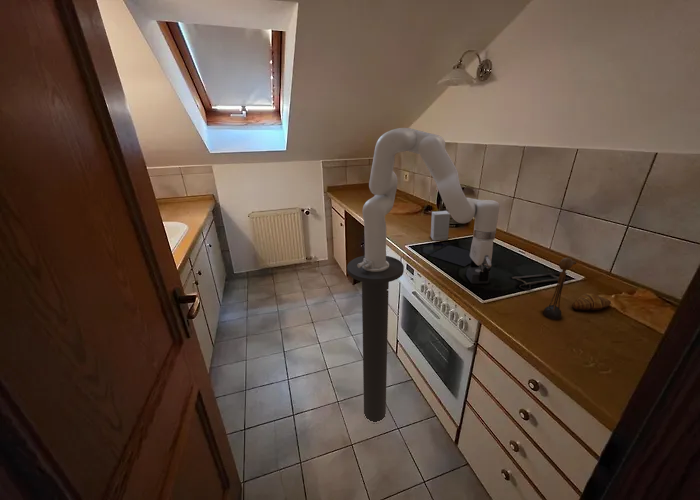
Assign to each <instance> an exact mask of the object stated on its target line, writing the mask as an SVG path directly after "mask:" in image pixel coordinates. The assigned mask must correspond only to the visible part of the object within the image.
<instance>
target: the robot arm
mask: <svg viewBox="0 0 700 500" xmlns="http://www.w3.org/2000/svg"><path fill="white" fill-rule="evenodd" d="M446 144H447V143H446V140H445V139H444V138H443V137H442V136H441V135H439V134H435V133H432V132H431V133H430V132H428V131H427V132H426V131H424V130H418V129H414V128H410V127H398V128H394V129H393V128H392V129H391V130H388V131H386V132H384V133H382V134H381V136H380V137H379V138H378V139H377V141H376V143H375V147H374V152H373V159H372V163H371V170H370V176H369V181H368V188H369V191H370V193H371V194H373V195H374V196H372V197H371V198H369V199H367V200H366V201H365V203H364V204H363V206H362V211H361V212H362V218H363V226H364V227H363V229H364V231H363V232H364V256H365V258H363V261H362V263H359V264H357V266H358V268H361V267H362V268H363V269H365V270H367V271H371V272H380V271H384V270H386V269H388V268H389V263H388V262H387V261H386V256H387V224H386V223H387V222H386V215H388V214H389V213H390V212H391V211H392V210H393V208H394V204H395V200H396V199H395V198H396V194H397V190H398V183H399V180H398V175H397V174H396V173H395V171H394V167H395V162H396V161H395V158H396V155H397V154H398V153H399V154H400V153H404V152H409V153H413V154H417V155H419V156H420V158H421V159H422V161H423V163H424V166H426V168H427V170H428V172H429V173H430V175H431V177H432V179H433V180H434V182H435V185H436V188H437V190H438V193H439V195H440V198H441V200H442V202H443V204H444V206H445V208H446V211H447V212H448V213H450V217H451V218H452V219H453V220H454V221H455V222H457V223H458V224H467V223H470V222H471V221H472V220H473V218H474V225H473V232H472V240H471V245H470V250H469V251H470V257H471V263H470V266H469V267H481V271H480V274H479V281H488V276H489V274H490V272H491V269H492V266H493V265H492V258H493V251H494V250H493V249H494V240H496V233H497V228H498V227H497V226H498V220H499V214H500V213H499V212H500V207H501V206H500V202H498V201H497V200H493V199H478V198H477V199H476V198H473V197H466V195H465V193H464V191H463V188H462V186H461V182H460V176H459V171H458V169H457V167H456V165H455V164H454V162H453V160H452V158H451V156H450V155H449V153H448V151H447V150H446ZM483 267H484V269H483Z"/></svg>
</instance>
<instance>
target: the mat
mask: <svg viewBox="0 0 700 500" xmlns="http://www.w3.org/2000/svg"><path fill="white" fill-rule="evenodd" d="M428 256H429V257H432V258H434V259H438V260H441V261H443V262H446V263H450V264H453V265H456V266H460V267H463V268H466V267H467V266H468V265H471V257H470V250H469V249H465V248H461V247H457V246H454V245H450V244H448V245H446V246H443V247H442V248H440V249H438V250H436V251H434V252H432V253H429V254H428Z"/></svg>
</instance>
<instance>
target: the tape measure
mask: <svg viewBox="0 0 700 500" xmlns="http://www.w3.org/2000/svg"><path fill="white" fill-rule="evenodd" d="M484 268H485V266H483V269H484ZM480 271H481V267H480V266H479V267H470V266H469V267H467V266H466V274H465V277H466V278H467V280H468V281H469V282H470V283H471V284H473V285H474V284H489V283H490V277H491V274H490V273H489V276H488V281H479V274H480Z"/></svg>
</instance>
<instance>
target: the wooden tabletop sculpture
mask: <svg viewBox="0 0 700 500" xmlns="http://www.w3.org/2000/svg"><path fill="white" fill-rule="evenodd" d="M558 263H559V264H558V267H559V269H560V270H562V272H561V271H559V272H560V275H558V277H559V279H558V281H557V283H556V287H555V290H554V292H553V296H552V298H551V300H550V302H549V304H548V305H547V306H546V307H544V310H543V313H542V315H543V316H544V317H546V318H547V319H550V320H556V321H559V320H561V319H562V315H563V314H562V313H563V312H562V310H561V298H562V292H563V289H564V288H563V287H564V284H565V282H566V279H565V278H567V274H568V273H567V271H568V270H570V269H571V268H572V267H573V266H574V265H576V264H577V261H576V260H573V259H572V258H570V257H563V258H562V259H561V260H560V261H559V262H558ZM560 277H561V278H560ZM552 303H553V304H552ZM557 304H558V306H557Z"/></svg>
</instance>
